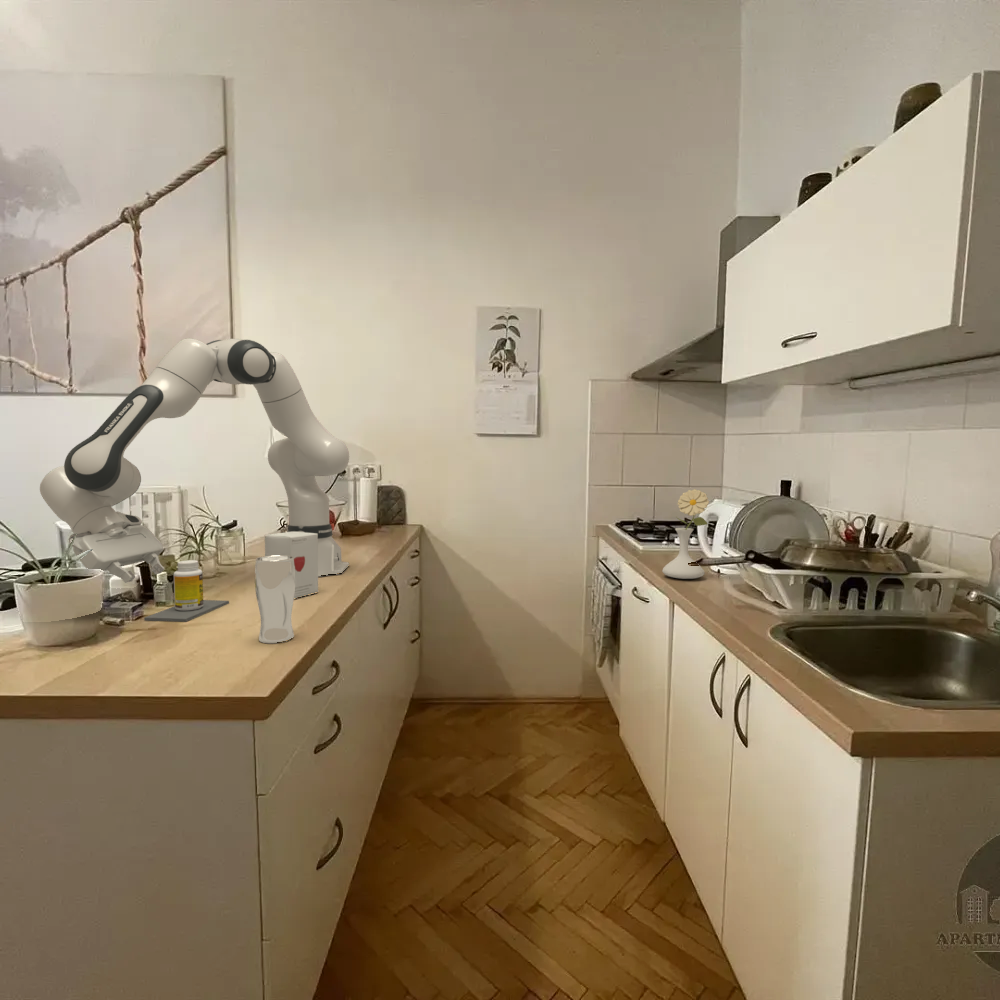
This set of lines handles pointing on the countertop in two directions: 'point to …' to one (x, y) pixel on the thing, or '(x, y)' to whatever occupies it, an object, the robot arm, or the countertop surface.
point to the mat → (185, 612)
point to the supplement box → (297, 557)
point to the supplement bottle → (188, 586)
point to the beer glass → (275, 596)
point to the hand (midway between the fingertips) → (146, 575)
